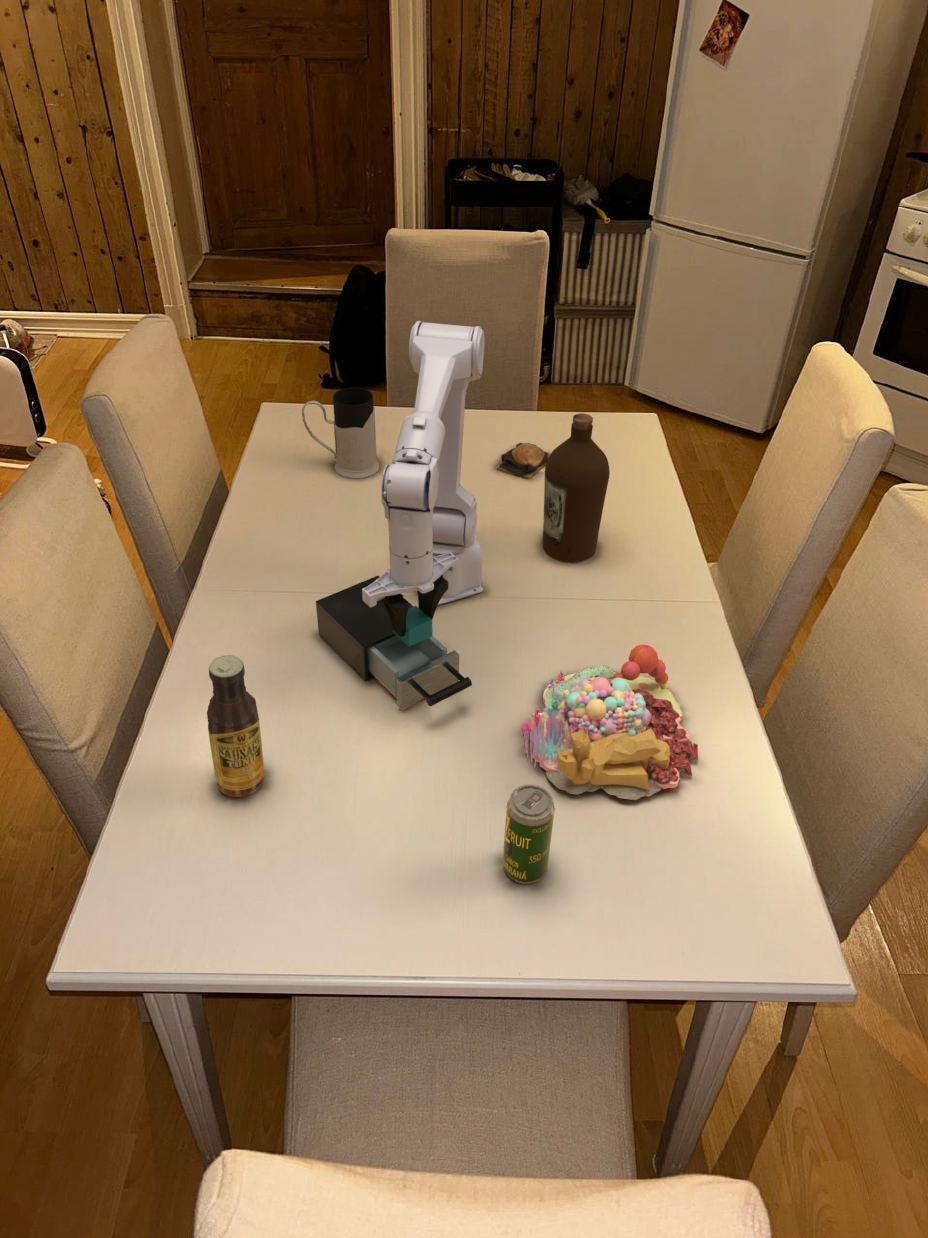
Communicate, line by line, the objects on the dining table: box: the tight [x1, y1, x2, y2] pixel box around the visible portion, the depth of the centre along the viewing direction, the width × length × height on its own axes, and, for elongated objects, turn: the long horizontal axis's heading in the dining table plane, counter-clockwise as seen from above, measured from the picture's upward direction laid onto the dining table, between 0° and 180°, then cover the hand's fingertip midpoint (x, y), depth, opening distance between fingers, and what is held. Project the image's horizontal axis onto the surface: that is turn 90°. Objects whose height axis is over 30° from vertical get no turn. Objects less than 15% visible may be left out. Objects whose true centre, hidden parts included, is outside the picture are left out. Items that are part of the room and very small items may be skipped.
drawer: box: [367, 634, 473, 710], centre depth 137 cm, size 17×10×5 cm, turn 38°
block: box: [393, 605, 433, 647], centre depth 134 cm, size 4×4×3 cm
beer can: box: [502, 784, 556, 885], centre depth 111 cm, size 5×5×12 cm
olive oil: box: [542, 412, 611, 563], centre depth 160 cm, size 11×11×25 cm
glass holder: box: [301, 387, 380, 479], centre depth 183 cm, size 9×14×15 cm, turn 89°
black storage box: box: [315, 575, 414, 683], centre depth 144 cm, size 13×11×7 cm
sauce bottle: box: [206, 654, 265, 798], centre depth 118 cm, size 7×6×20 cm
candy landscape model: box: [521, 644, 699, 801], centre depth 129 cm, size 25×24×9 cm
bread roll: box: [496, 442, 552, 480], centre depth 189 cm, size 11×8×4 cm
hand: (412, 626), depth 134 cm, fingers closed on block, 4 cm apart
